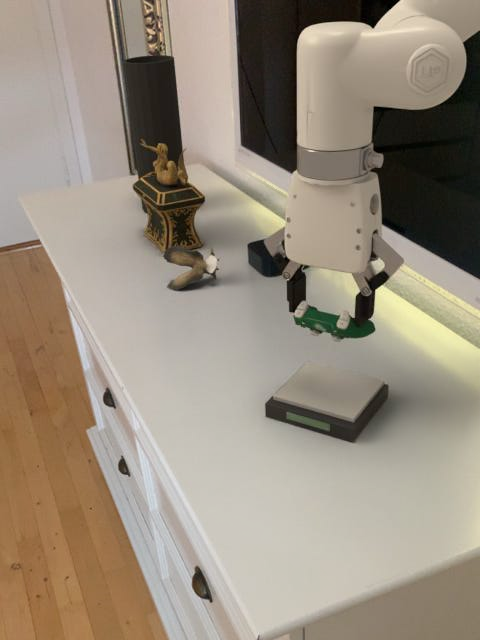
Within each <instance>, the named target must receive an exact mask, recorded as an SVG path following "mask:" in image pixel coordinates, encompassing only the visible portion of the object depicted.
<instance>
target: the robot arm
mask: <svg viewBox="0 0 480 640" xmlns="http://www.w3.org/2000/svg"><path fill="white" fill-rule="evenodd" d="M479 31H480V0H399V1H398V2H397V3H396V4H394V5H393V6H392V7H391V9H389V10H387V12H386V13H384V15H383V16H382V17H381V18H380V20H378V22H377V23H376V25H374V27H372V26H371V25H369V24H366V23H364V22H359V21H358V22H357V21H330V22H321V23H316V24H312V25H309V26H307V27H305V28H304V29H303V30H302V31H301V33H300V34H299V37H298V39H297V43H296V169H295V170H294V171H293V172H292V174H291V178H290V181H289V182H290V183H289V187H288V192H287V193H288V194H287V199H286V207H285V216H284V217H285V218H284V219H285V220H284V226H283V227H281V228H279V229H278V230H276V231H275V232H273V233H272V234H271V235H269V236H267V237H266V238H264V240H263V244H264V246H265V248H266V250H267V251H268V253H269V254H270V256H272V261H273V263H274V264H275V265H276V267H277V268H278V269H279V270H280V272H281V276H282V278H283V280H285V281H286V301H287V302H288V312H289V313H292V314H294V312H295V310H296V309H297V307H298V306H299V304H300V303H301V302H302V301H306V302H307V275H306V271H305V272H304V271H303V269H304V267H305V266H308V267H313V268H317V269H323V270H329V271H335V272H338V273H339V272H340V273H345V274H351V276H352V277H353V280H354V282H355V284H356V286H357V287H358V289H359V292H358V293H357V294H356V295H355V299H354V301H355V302H354V317H353V318H354V322H355V325H356V326H357V327H359V328H361V327H362V326H363V324H364V323H365V322H366V321H367V320H371V318H372V317H374V313H375V303H376V290H378V289H379V288H381V287H382V286H383V285H384V284H386V283H387V282H388V281H389V280H390V279H391V278H392V277H393V275H395V273H396V272H397V271H398V270H399V269H400V268H401V267H402V266H403V265H404V264H405V259H404V257H402V256H401V255H400V253H399V252H397V251H396V250H395V249H394V248H393V247H392V246H391V245H390V244H389V243H388V242H387V241H385V240H384V239H383V218H382V217H383V214H382V213H383V212H382V200H381V199H382V198H381V189H380V182H379V181H380V180H379V175H378V173H376V172H373V171H372V169H374V168H376V169H378V168H379V169H380V168H382V166H383V163H384V154H383V153H378V152H376V151H374V143H373V142H372V141H373V125H374V124H373V121H374V107H381V108H392V109H401V110H409V111H411V110H413V111H414V110H415V111H417V110H427V109H431V108H433V107H436V106H439V105H441V104H442V103H444V102H445V101H447V100H448V99H449V98H451V97H452V96H453V94H455V92H456V91H457V90H458V89H459V87H460V85H461V83H462V81H463V80H464V77H465V73H466V69H467V53H466V48H465V45H464V43H465V42H466V41H467V40H468V39H469V38H471V37H472V36H474V35H475V34H477V33H478V32H479ZM283 241H284V246H283V244H282V242H283ZM378 260H381V261H382V262H383V264H384V267H383V268H382V269H381V270H380V271H379V272H378V273H377V271H376V270H375V268H374V266H373V263H372V262H376V261H378Z"/></svg>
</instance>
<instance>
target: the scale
mask: <svg viewBox="0 0 480 640" xmlns="http://www.w3.org/2000/svg"><path fill="white" fill-rule="evenodd" d="M385 382H386V381H385V380H384V379H380V378H376V377H373V376H368V375H365V374H361V373H356V372H352V371H348V370H344V369H341V368H337V367H332V366H328V365H324V364H320V363H316V362H312V361H306V362H305V363H304V364H302V366H301V367H300V368H299V369H298V370H297V371H296V372H295V373H294V374H293V375H292V376H291V377H290V378H289V379H288V380H287V381H286V382H285V383H284V384H283V385H282V386H281V387H280V388H279V389H278V390H277V391H276V392H275V393H274V394H273V395H272V396H271V397H269V399H268V400H267V401H266V402H265V404H264V412H265V415H264V416H265V417H266V418H269V419H271V420H272V419H273V420H276V421H279V422H283V423H287V424H289V425H292V426H296V427H300V428H302V429H305V430H310V431H313V432H317V433H320V434H321V435H322V434H323V435H325V436H330V437H333V438H336V439H339V440H342V441H346V442H350V443H354V442H355V441H356V439H357V438H358V437H359V435H360V434H361V433H362V431H363V430H364V429H365V428H366V426H367V425H368V424H369V422H370V421H371V420H372V419H373V417H374V416H375V415H376V413H377V412H378V411H379V409H380V408H381V407H382V405H384V403H385V402H386V401H387V399H388V397H389V387H390V386H389V384H387V383H385Z"/></svg>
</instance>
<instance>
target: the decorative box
mask: <svg viewBox="0 0 480 640" xmlns="http://www.w3.org/2000/svg"><path fill="white" fill-rule="evenodd" d="M141 140H142V142H143V144H141V143H140V144H141V145H143V146H145V147H146V148H149V149H151V150H153V151H155V152H156V153H157V154H158V159H157V160H156V161H154V162H153V166H154V167H155V172H150V173H148V174H147V175H145V176H143V177H141V178H140V179H137V180H136V181H135V182H133V184H132V190H133V191H134V192H135V194H136V195H137V196H138V198H140V200H141V199H142V200H143V202H144V203H145V205H146V208H147V211H148V213H147V219H148V220H147V224H146V227H145V231H144V236H145V237H146V238H148V240H150V241H151V242H152V244H154V246H156V247H157V248H158V249H159V250H160V251H161V252H162V253H163V254H164V252H165V251H166V249H168V247H172V246H175V245H176V246H177V245H179V246H180V245H181V246H182V247H185V248H187V249H190V250H194V249H198V248H201V247H202V246H203V242H202V240H201V238H200V236H199V234H198V232H197V230H196V229H197V228H196V226H195V217H196V214H197V212H198V210H199V209H201V207H202V206H203V205H204V203H205V202H206V196H205V195H204V194H203V192H202V191H200V190H199V189H198V188H197V187H196V186H195V185H194V184H192V183H191V182H189V175H188V172H187V169H186V168H187V167H186V165H185V161H184V162H183V159H182V155H183V156H184V153H185V152H186V150H187V147H185V148H184V149H183V152H182V154H181V155H180V159H179V162H178V165H179V167H178V171H177V168H176V165H175V163H174V162H173V161H169V162H168V159H167V153H168V148H167V146H166V144H162V143H159V144H158V146H157V148H155V147H151V146H147V145H146V143H145V141H144V140H143V139H141ZM167 167H168V171H167V170H166V169H167ZM151 174H154V175H151ZM183 178H184V179H183Z"/></svg>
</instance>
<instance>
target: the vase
mask: <svg viewBox="0 0 480 640" xmlns="http://www.w3.org/2000/svg"><path fill="white" fill-rule="evenodd" d="M175 64H176V63H175V57H174V56H172V55H166V54H165V55H164V54H162V55H161V54H156V55H153V54H152V55H141V56H134V57H129V58H126V59H124V60H123V61H122V65H123V72H124V80H125V81H124V82H125V88H126V95H127V103H128V111H129V117H130V126H131V134H132V140H133V149H134V155H135V163H136V170H137V178H138V179H137V180H139V179H140V178H141V177H143V176H145V175H147V174H148V173H150V172H155V167H154V166H153V162H154V161H156V160H157V159H158V154H157V153H156V152H155V151H153V150H151V149H149V148H146V147H145V146H143V145H141V144H143V142H142V140H141V139H143V140H144V141H145V143H146V145H147V146H151V147H155V148H157V146H158V144H159V143H162V144H166V146H167V148H168V153H167V159H168V162H169V161H173V162H174V163H175V165H176V168H177V171H178V167H179V165H178V162H179V159H180V155H181V154H182V152H183V150H184V149H183V147H184V146H183V135H182V128H181V126H182V125H181V117H180V116H181V115H180V105H179V95H178V86H177V72H176V65H175ZM140 143H141V144H140ZM183 153H184V152H183ZM182 159H183V162H184V163H185V160H184V159H185V158H184V154H183V155H182ZM166 170H167V171H168V167H167V169H166ZM151 175H154V174H151ZM183 179H184V178H183ZM140 201H141V208H142V211H143V212H144V213H146V214H148V211H147V208H146V205H145V203H144V202H143V200H142V199H141V198H140Z"/></svg>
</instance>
